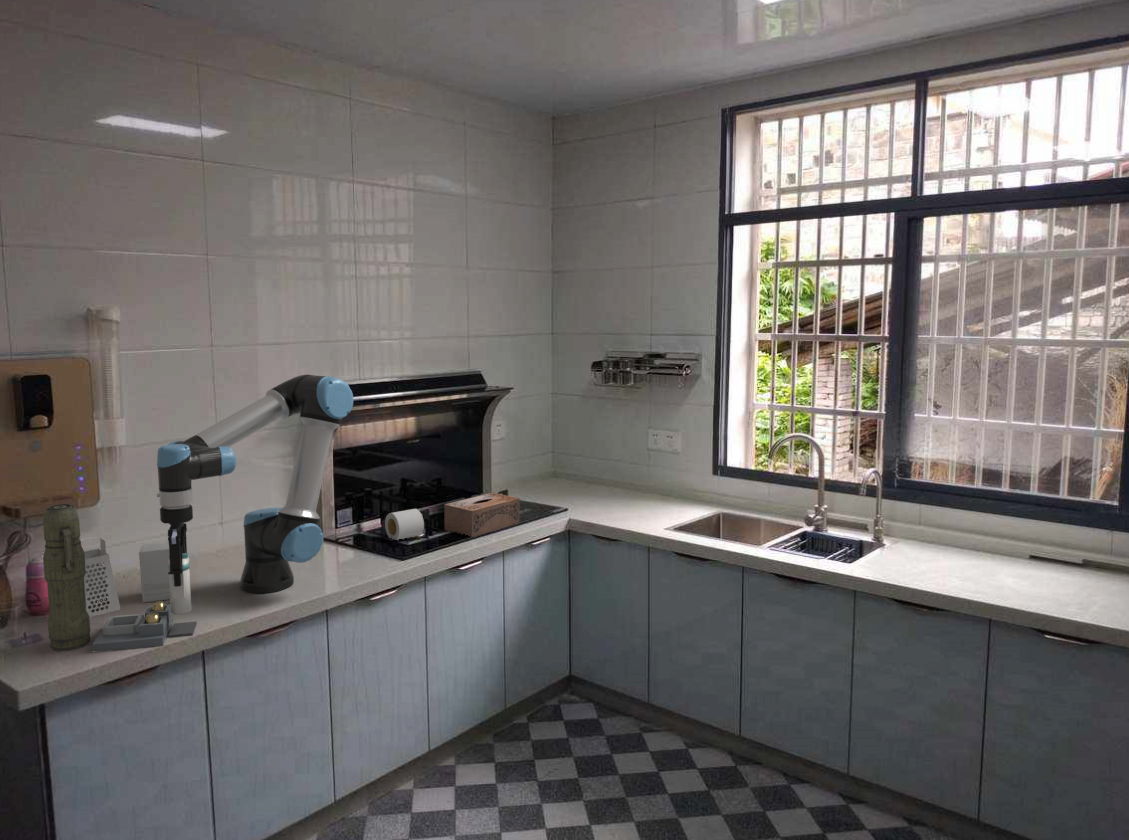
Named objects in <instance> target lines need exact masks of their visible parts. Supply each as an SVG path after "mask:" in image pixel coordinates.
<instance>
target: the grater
mask: <svg viewBox="0 0 1129 840" xmlns="http://www.w3.org/2000/svg"><path fill="white" fill-rule="evenodd" d="M97 540H99V542H100V549H99V548H96V549H91V550H86V551H85V550H84V554H85V568H86V574H85V576H84V584H85V598H86V611H87V613H88V615H89V618H93V617H96V616H95V615H97V616H99V615H98V614H100V615H103V614H102V613H104V614H108V613H112V612H116V611H119V610H118V609H120V610H121V605H120V600H119V596H118V591H117V587H116V582H115V578H114V574H113V568H112V563H111V560H110V555H109V554H108V553H107V550H106V541H105V540H104V539H102V537H99V536H97V535H94V536H89V537H82V538H80V541H81V543H85V542H90V541H97ZM105 599H106V600H105ZM101 600H103V601H101ZM97 601H98V602H97ZM108 601H109V602H108ZM95 602H96V603H95ZM90 603H92V604H90ZM103 603H105V604H104V605H103ZM99 604H100V606H99ZM94 605H95V607H93V606H94ZM89 607H91V608H89ZM106 607H107V608H106ZM101 608H103V609H101ZM97 609H98V611H97ZM93 610H94V612H93ZM115 610H116V611H115ZM111 611H112V612H111ZM107 612H108V613H107ZM92 616H93V617H92Z"/></svg>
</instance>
